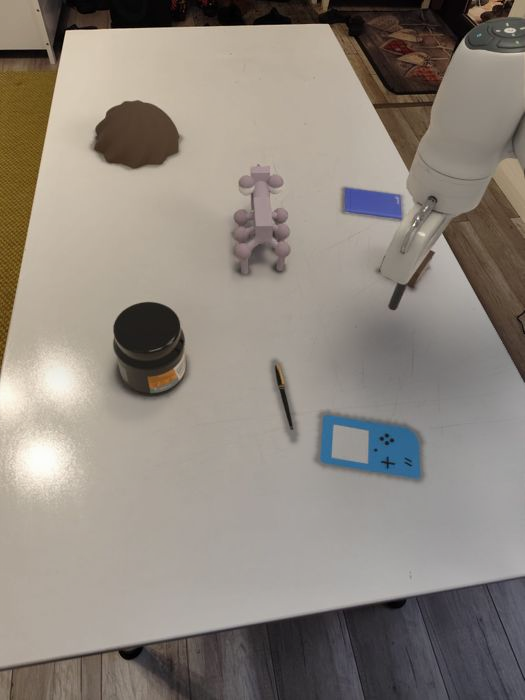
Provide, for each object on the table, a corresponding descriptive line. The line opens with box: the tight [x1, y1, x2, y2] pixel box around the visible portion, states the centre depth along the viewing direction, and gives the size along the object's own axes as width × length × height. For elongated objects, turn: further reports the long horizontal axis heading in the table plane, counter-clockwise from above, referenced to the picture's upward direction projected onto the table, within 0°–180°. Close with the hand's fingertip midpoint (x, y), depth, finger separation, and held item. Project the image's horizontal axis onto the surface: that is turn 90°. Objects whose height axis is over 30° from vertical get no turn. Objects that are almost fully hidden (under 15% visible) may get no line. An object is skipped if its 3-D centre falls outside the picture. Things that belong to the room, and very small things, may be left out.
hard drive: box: [343, 187, 403, 221], centre depth 113 cm, size 2×8×12 cm
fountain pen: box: [274, 364, 294, 431], centre depth 82 cm, size 14×1×2 cm, turn 11°
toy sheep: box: [233, 163, 292, 275], centre depth 99 cm, size 20×11×14 cm, turn 3°
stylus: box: [387, 281, 409, 311], centre depth 73 cm, size 1×1×13 cm
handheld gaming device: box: [319, 414, 421, 479], centre depth 79 cm, size 8×1×15 cm
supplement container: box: [112, 301, 187, 397], centre depth 79 cm, size 10×10×12 cm
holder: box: [378, 249, 436, 290], centre depth 101 cm, size 7×7×5 cm
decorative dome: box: [93, 99, 180, 170], centre depth 116 cm, size 19×20×10 cm
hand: (411, 264), depth 71 cm, fingers closed on stylus, 1 cm apart
